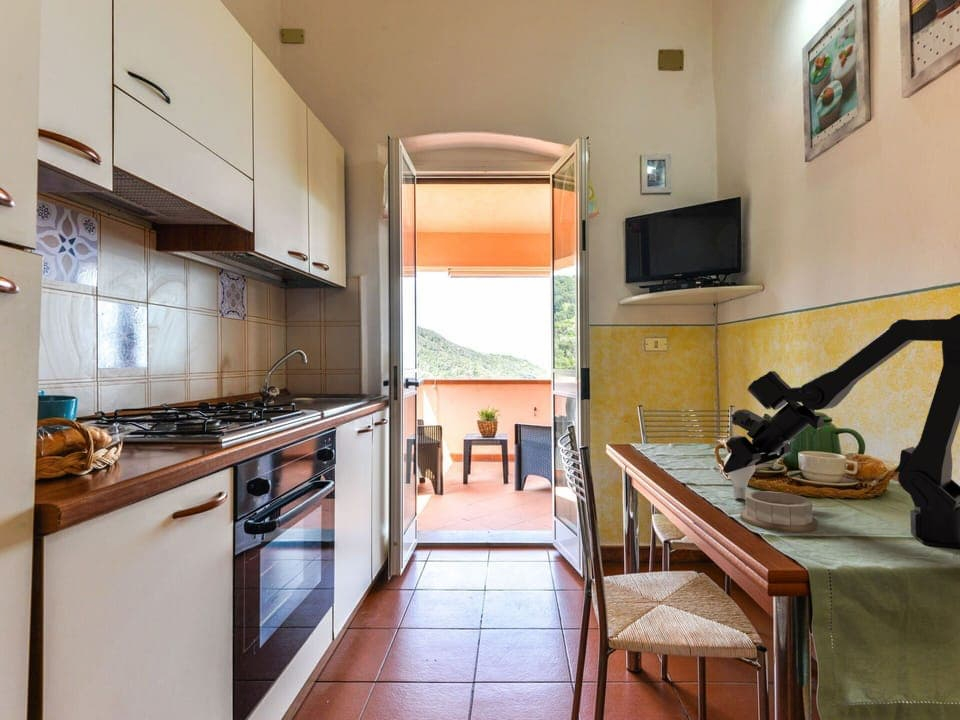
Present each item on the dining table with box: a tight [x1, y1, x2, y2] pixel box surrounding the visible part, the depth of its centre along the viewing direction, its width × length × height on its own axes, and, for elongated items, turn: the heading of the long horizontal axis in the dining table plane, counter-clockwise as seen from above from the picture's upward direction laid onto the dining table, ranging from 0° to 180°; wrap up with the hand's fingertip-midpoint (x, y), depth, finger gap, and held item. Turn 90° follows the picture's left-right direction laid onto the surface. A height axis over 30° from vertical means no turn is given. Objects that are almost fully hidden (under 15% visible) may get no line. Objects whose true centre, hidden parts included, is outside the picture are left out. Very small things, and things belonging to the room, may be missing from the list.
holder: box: [740, 490, 819, 533], centre depth 98 cm, size 13×13×4 cm
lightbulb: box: [723, 452, 756, 501], centre depth 114 cm, size 6×6×11 cm
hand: (733, 469), depth 115 cm, fingers open, 8 cm apart
